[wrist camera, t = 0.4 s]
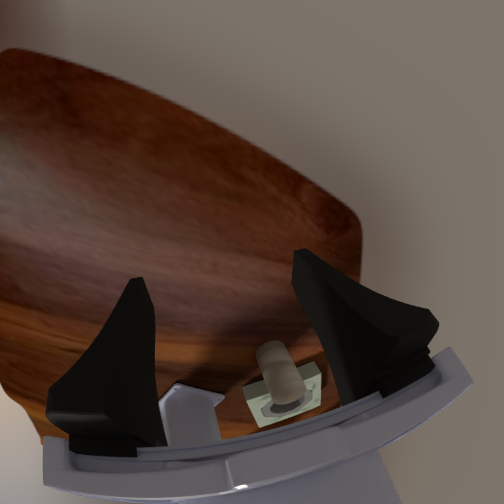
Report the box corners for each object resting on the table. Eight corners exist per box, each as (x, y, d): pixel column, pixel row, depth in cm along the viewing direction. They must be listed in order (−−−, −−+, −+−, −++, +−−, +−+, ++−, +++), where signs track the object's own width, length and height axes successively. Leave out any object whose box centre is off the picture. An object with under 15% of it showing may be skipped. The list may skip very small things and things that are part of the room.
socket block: (314, 394, 42) (320, 405, 40) (255, 416, 40) (259, 427, 38) (314, 360, 36) (321, 373, 34) (241, 386, 35) (246, 400, 33)
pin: (271, 364, 34) (289, 405, 28) (248, 357, 32) (265, 402, 26) (291, 345, 33) (313, 386, 27) (269, 336, 31) (290, 382, 25)
